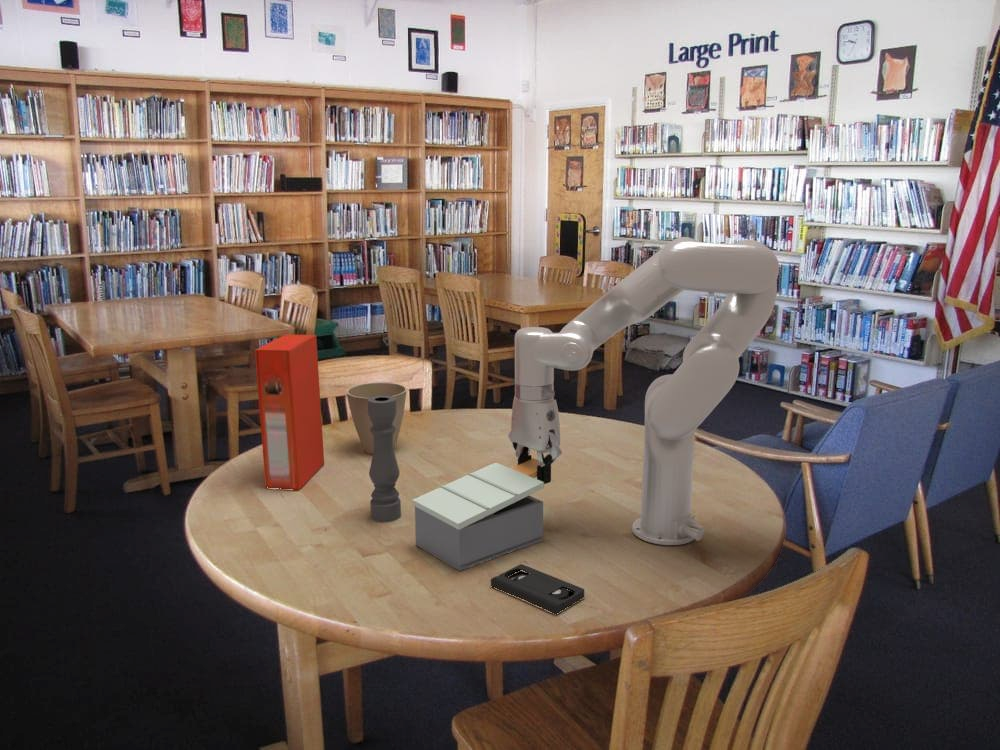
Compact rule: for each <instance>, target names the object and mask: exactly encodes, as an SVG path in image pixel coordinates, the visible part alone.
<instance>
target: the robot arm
mask: <svg viewBox="0 0 1000 750" xmlns="http://www.w3.org/2000/svg"><path fill="white" fill-rule="evenodd" d="M779 263H780V262H779V260H778V258H777V255H776V254H775V253H774V251H772V249H771V248H769V247H768V246H766V245H765V244H764V243H762V242H760V241H758V240H754V239H744V240H740V241H738V242H736V243H719V242H718V243H717V242H715V243H714V242H704V241H703V242H702V241H698V240H697V239H694V238H692V237H687V236H680V237H676V238H675V239H672V240H671V241H669V242H668V243H667V244H665V245H664V246H663V247H662V248H660V249H659V250H658V251H656V252H655V253H654V254H652V255H651V257H649V258H648V259H647V260H645V261H644V262H643V263H642V264H641V265H639V266H638V267H637V268H635V269H634V270H633V271H631V272H630V273H629V274H628V275H627V276H625V277H624V278H623V279H622V280H620V281H619V282H618V283H617V284H615V285H614V286H613V287H611V288H610V289H609V290H608V291H607V292H606V293H605V294H603V296H601V297H600V298H598V299H597V300H596V301H594V302H593V303H592V304H590V305H589V306H588V307H587V308H585V309H584V310H583V311H582V312H580V313H579V314H578V315H576V317H574V318H573V319H571V321H569V322H568V323H567V324H566V325H565V326H564V327H562V329H561V330H560V331H559V332H553V331H552V330H550V328H547V327H542V326H530V327H529V326H528V327H527V326H526V327H523V328H520V329H518V330H517V331H516V332H515V334H514V396H513V397H514V398H513V402H512V408H511V409H512V410H511V423H510V424H511V425H510V428H511V429H510V432H509V433H508V439H509V441H510V442H511V444H512V447H513V449H514V450H515V456H516V458H517V465H519V464H522V463H524V462H526V461H528V460H531V459H532V455H531V454H530V452H531V450H533V451H536V455H537V460H539V465H538V466H537V477H536V479H537V480H540V481H542V482H544V485H546V484H549V483H551V481H552V465H553V464H554V462H555V461H556V459H558V457H560V456H561V455H562V454H563V451H562V449H561V447H560V445H561V427H560V426H561V424H560V415H559V414H560V413H559V408H558V404H557V399H554V398H555V394H556V392H555V390H554V389H555V387H554V383H555V382H554V380H555V376H554V375H555V369H560V370H564V371H579V370H581V369H584V368H585V367H587V366H588V365H589V363H590V362H591V361H592V357H593V354H594V351H595V350H597V349H598V348H599V347H601V345H603V344H605V342H607V341H608V340H609V339H610V338H612V337H613V336H615V334H617V333H618V332H620V331H622V330H624V329H625V328H628V327H629V326H631V325H635V324H638V323H642V322H644V321H646V320H648V319H649V318H650V317H651V316H653V314H655V313H656V312H658V311H660V309H661V308H662V307H664V306H665V305H666V304H667V303H669V302H670V301H671V300H674V298H675V297H676V296H678V295H679V294H680V293H682V292H683V291H684V290H685V291H691V292H692V291H694V292H703V293H704V292H705V293H726V294H727V295H726V297H725V298H724V299H723V301H722V303H721V304H720V306H719V307H718V308H717V309H716V311H715V312H714V314H713V315H712V316H711V317H710V319H709V320H708V321H706V323H705V324H704V325H703V326H702V327H701V329H699V331H698V332H697V333H696V334H695V336H694V337H693V338H692V339H691V340H689V342H687V345H686V346H685V348H684V350H683V353H682V363H681V364H679V366H678V368H677V369H676V370H675V371H674V372H673V374H665V375H661V376H659V377H657V378H655V379H654V380H653V381H652V382H651V384H650V385H649V386H648V388H647V391H646V393H645V398H644V399H645V400H644V429H643V430H644V434H643V456H642V473H641V475H642V476H641V477H642V478H641V479H642V480H641V497H640V498H641V500H640V501H641V503H640V517H638V518H637V519H635V520H634V521H633V522H632V528H631V530H632V532H633V534H634V535H635V536H636V537H637V538H638V539H641V540H642V541H645V542H648V543H651V544H655V545H661V546H679V545H685V544H689V543H691V542H693V541H694V540H695V541H697V542H698V541H700V540H702V538H703V534H704V533H705V526H702V525H699V524H697V523H696V522H695V519H696V515H695V514H692V513H691V509H692V508H691V505H692V494H693V493H692V489H693V471H694V470H693V469H694V459H695V443H696V442H695V440H696V439H695V437H696V429H697V428H698V427H699V426H700V425H702V423H703V422H704V421H705V420H706V418H708V416H709V415H710V414H711V413H712V412H713V410H714V409H715V408H716V407H718V405H719V403H720V402H722V400H723V399H724V398H725V396H726V395H727V394H728V393H729V392H730V391H731V389H732V388H733V386H734V385H735V383H736V381H737V378H738V376H739V372H740V361H739V358H740V357H741V356H742V354H743V353H744V352H745V351H746V349H748V347H749V346H750V344H751V343H752V342H753V341H754V340H755V338H756V337H757V336H758V334H759V333H760V332H761V331H762V329H763V328H764V326H765V325H766V324H767V322H768V320H769V318H770V317H771V315H772V313H773V310H774V307H775V304H776V299H777V294H778V293H777V291H778V289H777V288H778V283H777V281H778V280H777V278H778V276H779V274H780V273H779V272H780V264H779ZM544 453H545V454H546V455H545V456H544Z"/></svg>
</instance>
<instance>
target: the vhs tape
mask: <svg viewBox="0 0 1000 750" xmlns="http://www.w3.org/2000/svg"><path fill="white" fill-rule="evenodd" d="M520 570H523V571H525V572H527V573H530V574H524V575H522V574H519V575H516V576H515V577H514V578H513V579H512V578H511V577H509V578H508V576H510V575H512V574H514V573H515V572H518V571H520ZM491 586H492V587H495V588H497V589H499V590H502V591H504V592H506V593H509V594H511V595H514V596H516V597H519V598H521V599H524V600H526V601H528V602H530V603H532V604H534V605H537V606H539V607H542V608H543V609H546V610H548V611H550V612H552V613H554V614H557V613H559V612H560V611H562V610H564V609H565V608H567V607H569V606H571V605H572V604H573V603H575V602H577V601H579V600H580V599H582V598H583V597H584V598H585V588H582V587H580V586H578V585H575V584H572V583H570V582H567V581H566V580H565V581H564V580H563V579H560V578H557V577H555V576H552V575H550V574H548V573H545V572H542V571H539V570H537V569H535V568H532V567H530V566H528V565H525V564H522V563H521V564H518V565H516V566H514V567H512V568H511V569H508V570H506V571H504V572H503V573H500V574H498V575H497V576H494V577H492V578H491V579H490V587H491ZM492 587H491V588H492ZM567 589H568V590H570V591H572V592H574V593H573V594H572V595H571V596H570V597H569V592H570V591H568V590H567ZM499 590H498V591H499ZM572 592H571V593H572ZM506 593H505V594H506ZM582 600H583V599H582ZM579 602H580V601H579ZM577 603H578V602H577ZM571 607H572V606H571ZM569 608H570V607H569ZM564 611H565V610H564ZM559 614H560V613H559Z"/></svg>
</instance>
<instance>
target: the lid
mask: <svg viewBox="0 0 1000 750" xmlns="http://www.w3.org/2000/svg"><path fill="white" fill-rule="evenodd" d="M538 465H539V460H538V458H537V459H536V458H532V459H531V460H528V461H526V462H524V463H522V464H519V465H518V464H517V465H515V466H513V467H508V466H505V465H503V464H500V463H498V462H493V463H490V464H489V465H486V466H484V467H482V468H480V469H478V470H476V471H473V472H468V473H467V475H464V476H462V477H460V478H458V479H456V480H453V481H451V482H449V483H446V484H444V485H443V484H441V485H440V487H438V488H437V487H436V489H432V490H431V491H429V492H427V493H425V494H424V493H423V494H422V495H419V496H418V497H417V496H416V497H415V498H413V499H412V505H413V506H414V508H415V507H417V508H419V509H421V510H423V511H425V512H427V513H428V514H430V515H432V516H434V517H436V518H438V519H440V520H442V521H443V522H445V523H447V524H449V525H451V526H453V527H455V528H456V529H458V530H460V529H462V528H464V527H466V526H468V525H470V524H472V523H474V522H476V521H478V520H480V519H482V518H484V517H486V516H488V515H490V514H492V513H494V512H496V511H498V510H500V509H502V508H504V507H506V506H508V505H511V504H513V503H515V502H517V501H519V500H521V499H523V498H525V497H527V496H531V495H532V494H534V493H536V492H539V491H541V490H543V489H545V484H544V482H542V481H540V480H537V466H538Z"/></svg>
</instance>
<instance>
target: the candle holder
mask: <svg viewBox="0 0 1000 750" xmlns="http://www.w3.org/2000/svg"><path fill="white" fill-rule="evenodd" d="M396 414H397V409H396V398H395V397H393V396H374V397H371V398H369V399H368V416H369V417H370V420H371V421H372V424H373V426H372V427H371V428H370V432H371V433H372V434H373V436H374V451H373V454H372V457H371V462H370V467H369V471H368V472H369V473H368V475H369V478H370V480H371V482H372V483H373V486H374V490H373V491H372V493H371V495H370V496H371V500H370V501H369V506H370V508H369V509H370V518H371V519H372V520H373V521H376V522H378V523H381V522H383V523H387V522H393V521H396V520H398V519H400V518H401V516H402V506H401V505H402V504H401V503H402V502H401V499H400V493H399V490H397V488H396V484H397V482H398V479H399V478H400V472H401V471H400V469H399V468H400V467H399V465H398V460H397V458H396V454H395V450H394V449H395V448H394V449H393V434H394V432H395V431H396V427H395V426H394V425H392V423H393V421H394V419H395V415H396Z"/></svg>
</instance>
